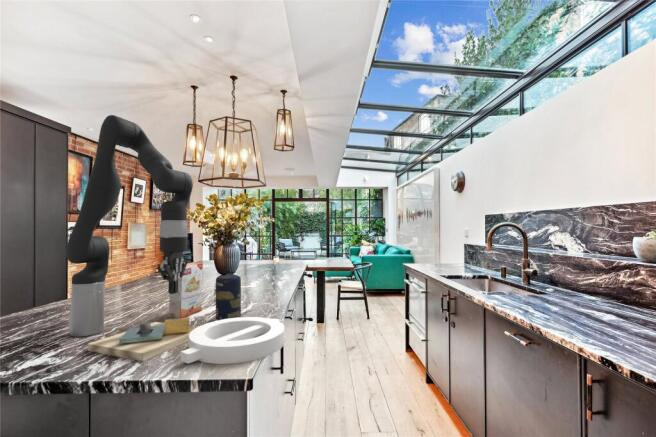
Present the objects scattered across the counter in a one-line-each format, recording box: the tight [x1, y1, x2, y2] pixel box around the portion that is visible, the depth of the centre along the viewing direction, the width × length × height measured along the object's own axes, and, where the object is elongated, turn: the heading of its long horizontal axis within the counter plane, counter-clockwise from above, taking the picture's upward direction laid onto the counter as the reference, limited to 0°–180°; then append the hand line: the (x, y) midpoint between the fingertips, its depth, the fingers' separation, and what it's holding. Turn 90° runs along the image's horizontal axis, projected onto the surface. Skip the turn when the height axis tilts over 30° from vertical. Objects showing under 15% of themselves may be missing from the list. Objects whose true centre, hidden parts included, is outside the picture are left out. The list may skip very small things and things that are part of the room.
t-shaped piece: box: [119, 316, 190, 344], centre depth 97 cm, size 18×11×4 cm, turn 110°
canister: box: [215, 273, 242, 321], centre depth 122 cm, size 10×10×18 cm
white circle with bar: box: [180, 316, 286, 365], centre depth 95 cm, size 28×28×5 cm
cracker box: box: [168, 262, 204, 319], centre depth 130 cm, size 14×6×21 cm, turn 168°
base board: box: [87, 312, 198, 362], centre depth 97 cm, size 22×23×6 cm
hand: (173, 293), depth 93 cm, fingers closed
